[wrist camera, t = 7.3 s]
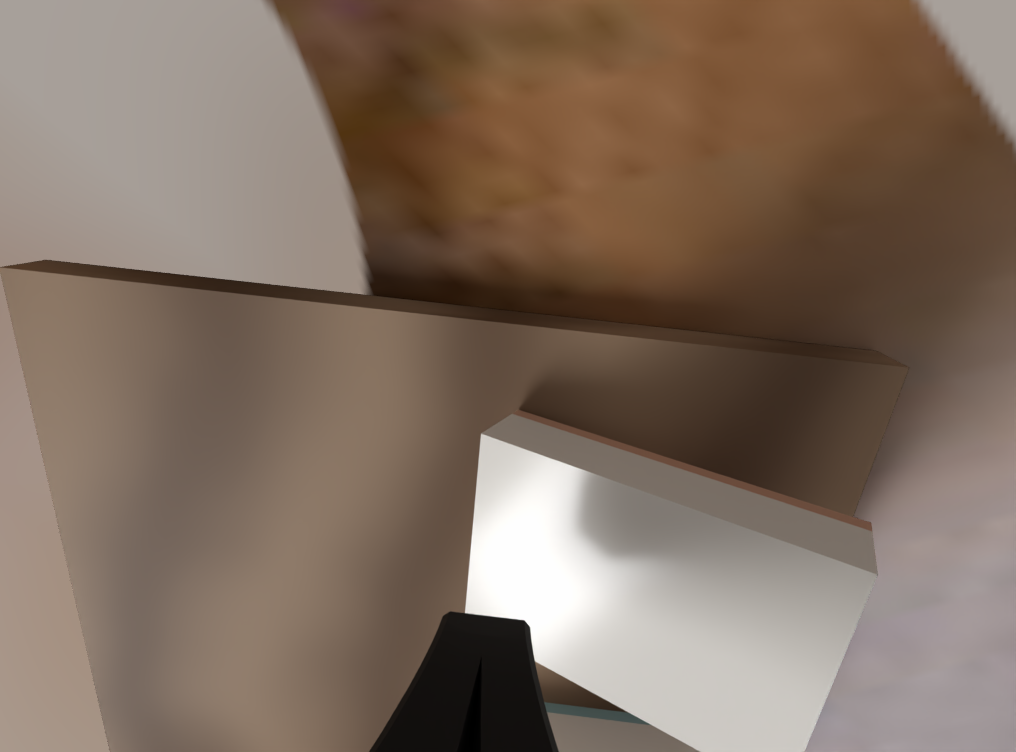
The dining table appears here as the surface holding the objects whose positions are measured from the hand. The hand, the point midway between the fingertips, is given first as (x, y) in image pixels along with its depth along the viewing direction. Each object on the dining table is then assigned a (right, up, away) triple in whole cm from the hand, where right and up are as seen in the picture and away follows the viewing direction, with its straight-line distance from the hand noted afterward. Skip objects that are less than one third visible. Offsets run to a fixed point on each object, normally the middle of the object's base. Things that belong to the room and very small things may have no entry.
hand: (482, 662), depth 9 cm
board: (-2, -2, +7) cm, 8 cm away
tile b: (0, +1, +4) cm, 4 cm away
